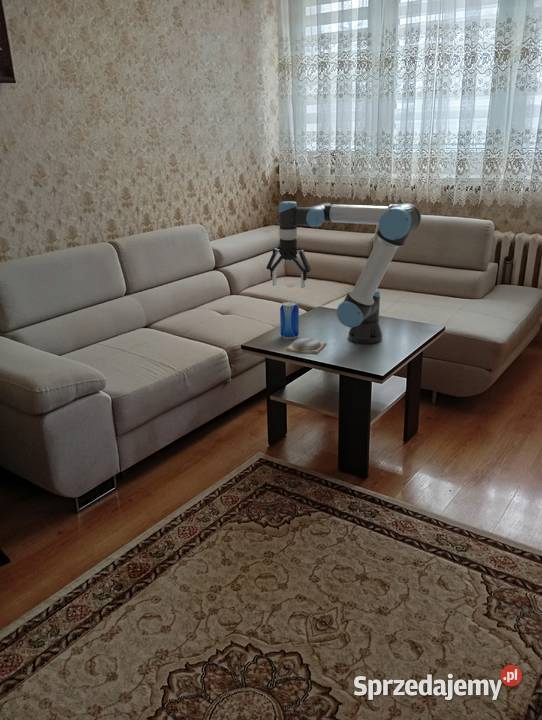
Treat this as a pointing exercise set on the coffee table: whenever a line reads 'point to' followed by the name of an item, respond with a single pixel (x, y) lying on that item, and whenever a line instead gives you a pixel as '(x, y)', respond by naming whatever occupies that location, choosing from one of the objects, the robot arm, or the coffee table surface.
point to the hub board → (307, 345)
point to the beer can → (289, 320)
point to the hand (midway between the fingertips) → (288, 286)
